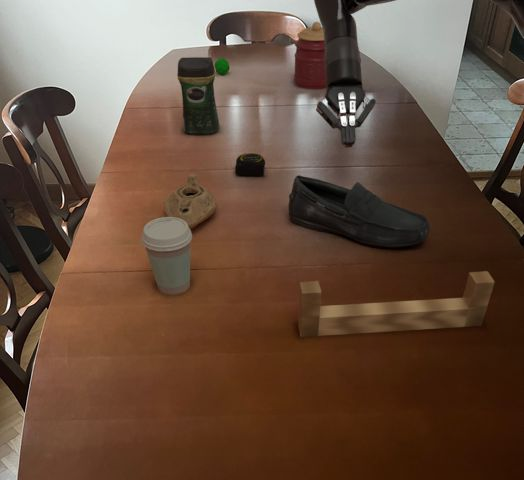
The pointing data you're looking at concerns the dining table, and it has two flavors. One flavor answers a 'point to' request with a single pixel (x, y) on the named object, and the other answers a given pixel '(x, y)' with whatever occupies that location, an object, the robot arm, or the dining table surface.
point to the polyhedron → (222, 66)
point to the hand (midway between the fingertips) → (348, 145)
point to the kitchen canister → (310, 58)
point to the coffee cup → (169, 253)
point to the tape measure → (250, 165)
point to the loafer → (354, 214)
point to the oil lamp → (190, 202)
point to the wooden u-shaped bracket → (393, 311)
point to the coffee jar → (198, 95)
